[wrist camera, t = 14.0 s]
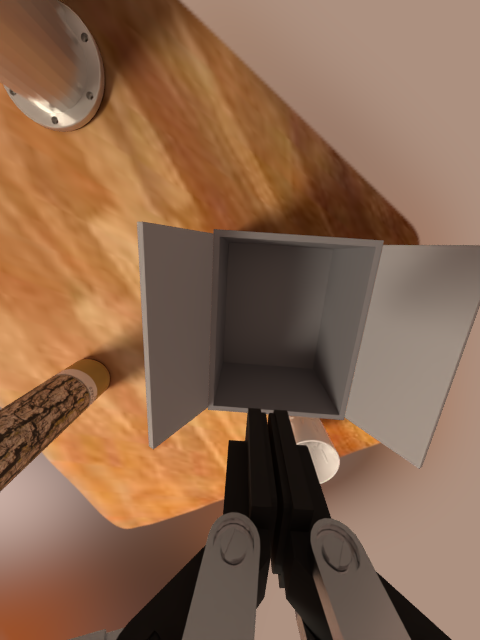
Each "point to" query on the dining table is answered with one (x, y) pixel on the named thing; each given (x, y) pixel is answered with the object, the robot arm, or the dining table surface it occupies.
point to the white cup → (316, 445)
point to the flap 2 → (413, 343)
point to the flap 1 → (175, 324)
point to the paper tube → (46, 414)
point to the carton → (288, 321)
